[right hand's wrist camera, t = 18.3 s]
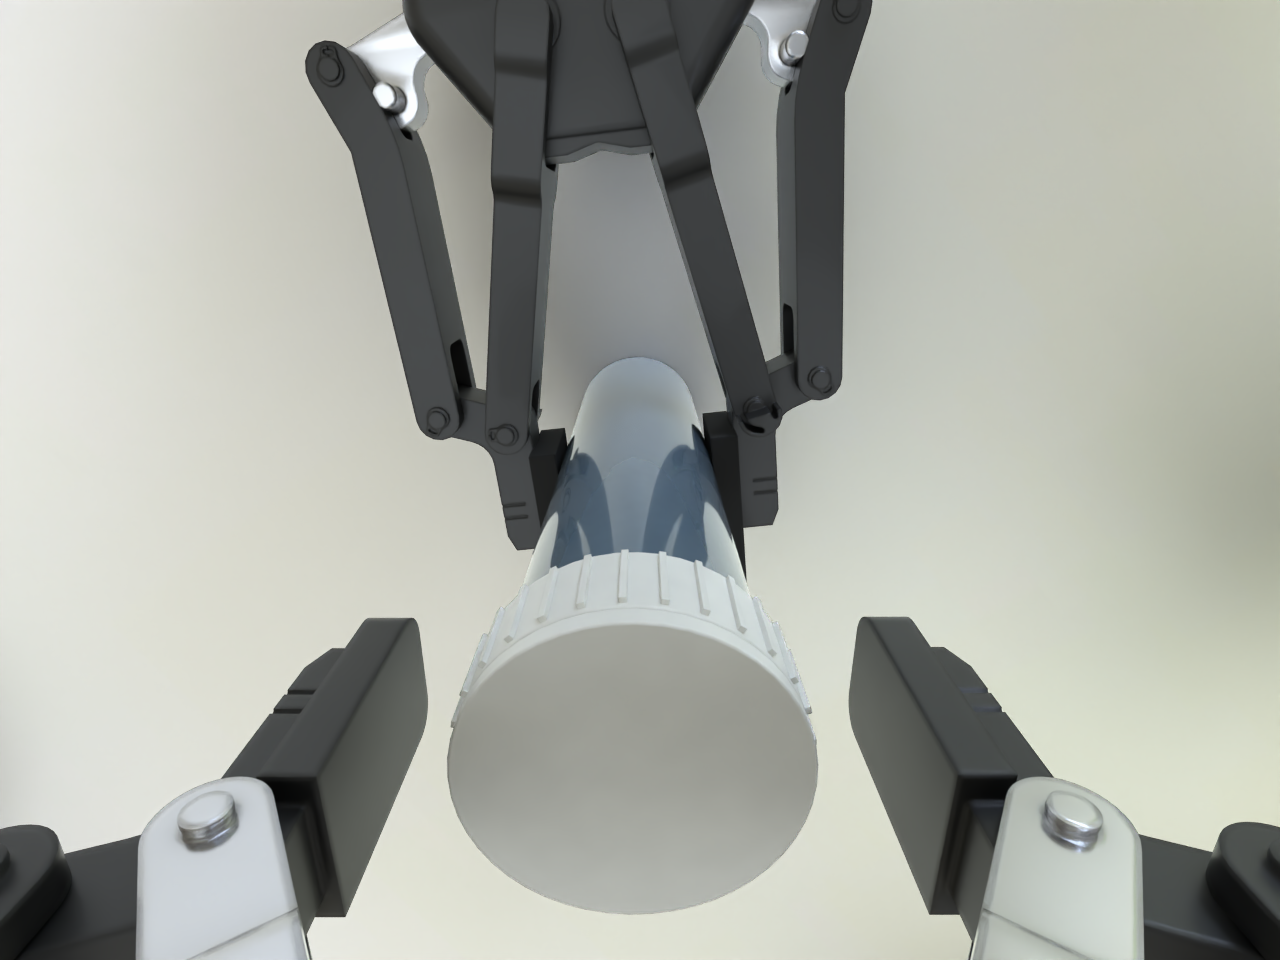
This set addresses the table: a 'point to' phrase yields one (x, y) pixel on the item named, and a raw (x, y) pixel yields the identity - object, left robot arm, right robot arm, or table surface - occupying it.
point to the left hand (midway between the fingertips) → (654, 619)
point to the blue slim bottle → (636, 477)
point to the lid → (633, 737)
